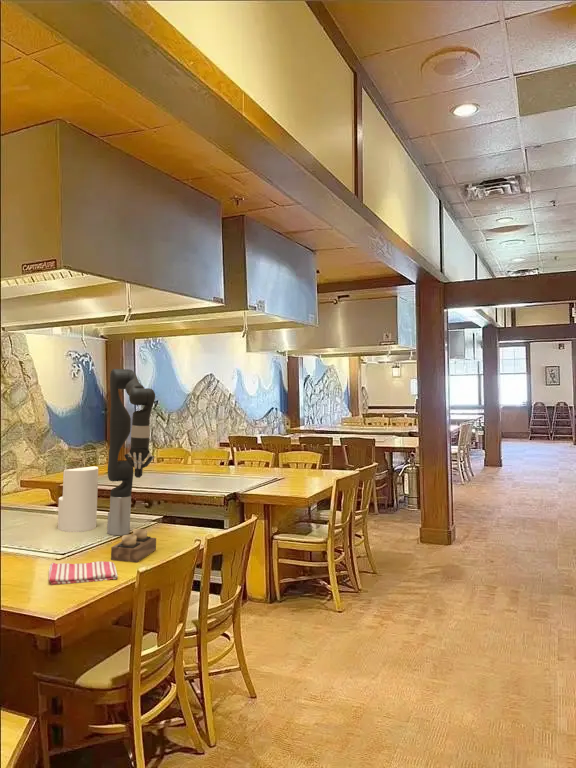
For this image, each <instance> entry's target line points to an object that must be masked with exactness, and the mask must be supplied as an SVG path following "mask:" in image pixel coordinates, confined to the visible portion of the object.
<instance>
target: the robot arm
mask: <svg viewBox="0 0 576 768" xmlns="http://www.w3.org/2000/svg"><path fill="white" fill-rule="evenodd" d="M137 376H138V375H137V374H136V372H135V371H134V370H132V369H126V368H125V369H124V368H123V369H122V368H113V369H112V370H111V372H110V375H109V387H110V388H109V389H110V390H109V391H110V392H109V393H110V410H109V411H110V413H109V414H110V415H109V451H108V462H107V477H108V480H109V481H110V482H121V483H120V484H119V485H117V486H115V487H113V488H112V489H110V494H109V495H110V499H109V502H110V503H109V512H107V524H106V525H107V526H106V527H107V528H106V529H107V530H106V531H107V532H106V534H109V535H110V536H111V535H112V536H123V535H130V533H131V514H132V513H131V508H132V491H133V479H134V476H135V478H138V479H139V478H141V477H142V476H143V469H145V468H147V467H148V466H149V465H150V464H151V462H152V461H154V458H155V456H154V455H152V454H151V453H150V436H151V431H150V422H151V421H150V420H151V413H152V409H153V406H154V404H155V402H156V401H155V400H156V393H155V390H153V389H152V388H145V387H144V385H142V384H141V383H140V382H139V379H138V377H137ZM119 390H125V392H126V393H127V395H128V400H129V402H130V404H131V405H134V406H143V408H142V409H140V410H136V411H134V412H133V413H132V421H131V415H130V414H129V412H128V410H127V408H126V407H125V406H124V404H123V402H122V400H121V397H120V393H119ZM129 436H130V449H129V452H127V453H125V454H124V458H125V459H126V460H118V459H119V454H120V452H121V449H122V447H124V446H123V445H124V444H125V442H126V441H127V439H128V437H129ZM146 458H147V459H146ZM145 460H146V461H145Z"/></svg>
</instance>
